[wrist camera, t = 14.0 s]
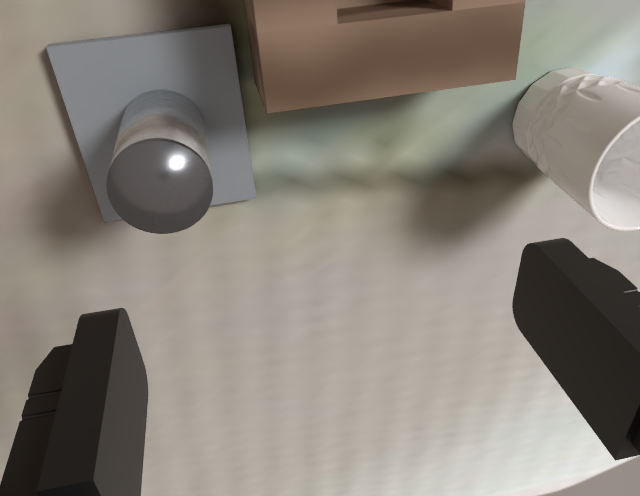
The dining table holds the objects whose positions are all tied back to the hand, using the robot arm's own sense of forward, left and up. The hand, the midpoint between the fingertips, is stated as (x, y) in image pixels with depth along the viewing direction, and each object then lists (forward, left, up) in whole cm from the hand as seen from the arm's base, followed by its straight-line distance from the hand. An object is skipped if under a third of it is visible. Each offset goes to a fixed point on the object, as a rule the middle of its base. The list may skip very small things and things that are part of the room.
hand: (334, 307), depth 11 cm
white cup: (+8, +22, -26) cm, 35 cm away
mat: (+5, -5, -26) cm, 26 cm away
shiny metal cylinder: (+4, -5, -25) cm, 26 cm away
